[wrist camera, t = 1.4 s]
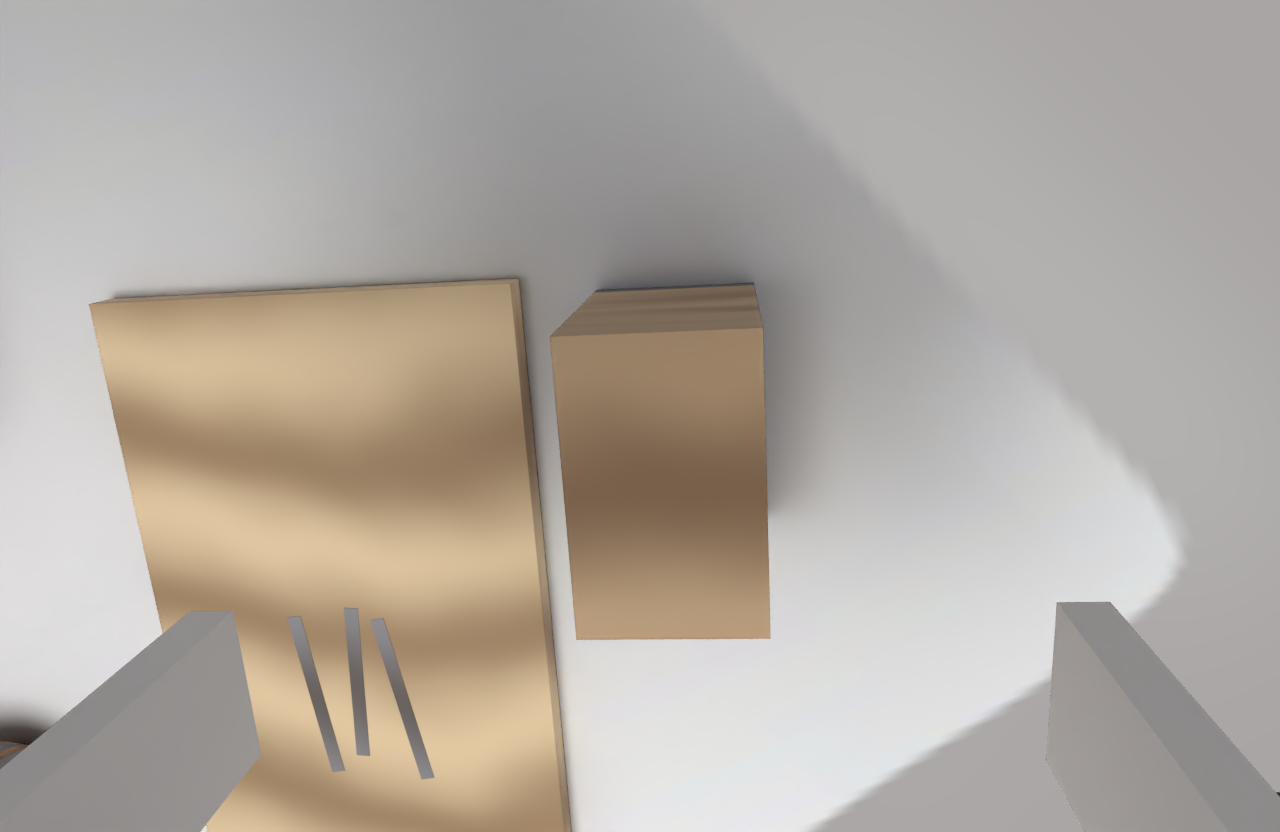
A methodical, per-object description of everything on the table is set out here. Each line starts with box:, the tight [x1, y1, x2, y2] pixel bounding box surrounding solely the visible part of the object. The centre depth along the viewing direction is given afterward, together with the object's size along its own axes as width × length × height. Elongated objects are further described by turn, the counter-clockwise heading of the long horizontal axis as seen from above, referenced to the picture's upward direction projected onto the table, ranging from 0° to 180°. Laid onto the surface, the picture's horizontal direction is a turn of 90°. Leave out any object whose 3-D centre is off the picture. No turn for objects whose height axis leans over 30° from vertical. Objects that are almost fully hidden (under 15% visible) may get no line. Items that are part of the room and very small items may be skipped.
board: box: [89, 279, 571, 832], centre depth 32 cm, size 23×14×1 cm, turn 3°
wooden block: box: [550, 283, 770, 640], centre depth 26 cm, size 8×5×8 cm, turn 3°
